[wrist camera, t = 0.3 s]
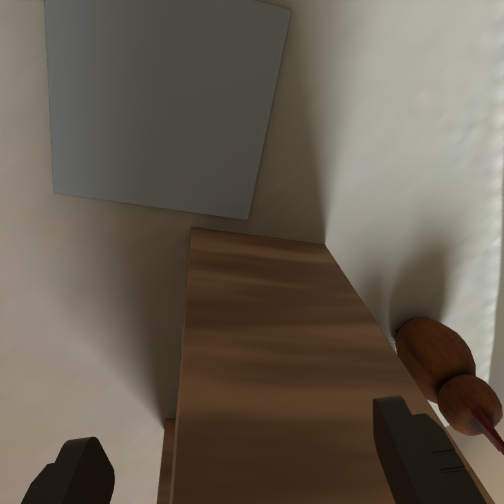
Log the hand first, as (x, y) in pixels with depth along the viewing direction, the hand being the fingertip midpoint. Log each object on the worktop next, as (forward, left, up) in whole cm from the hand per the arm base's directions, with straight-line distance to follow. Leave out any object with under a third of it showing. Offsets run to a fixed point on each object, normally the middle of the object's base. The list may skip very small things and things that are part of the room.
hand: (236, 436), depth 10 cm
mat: (-6, -4, -21) cm, 23 cm away
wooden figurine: (+12, +24, -22) cm, 34 cm away
